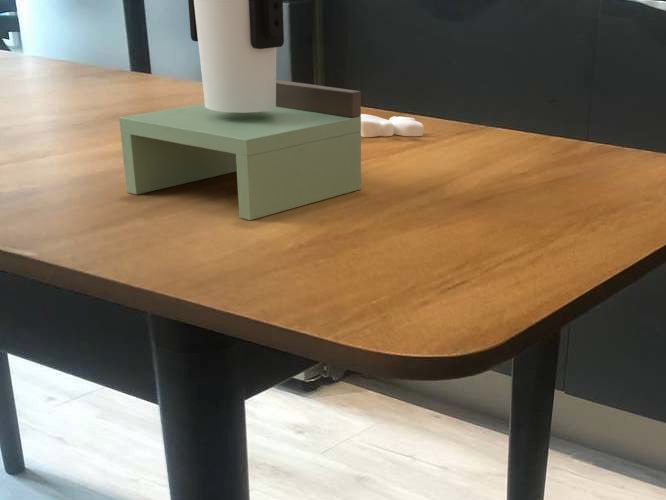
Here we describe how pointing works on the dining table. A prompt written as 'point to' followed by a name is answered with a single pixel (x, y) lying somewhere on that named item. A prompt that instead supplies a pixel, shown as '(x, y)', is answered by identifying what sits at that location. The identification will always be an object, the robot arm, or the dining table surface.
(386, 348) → the dining table surface
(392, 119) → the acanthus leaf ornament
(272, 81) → the white cup
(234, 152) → the desk
